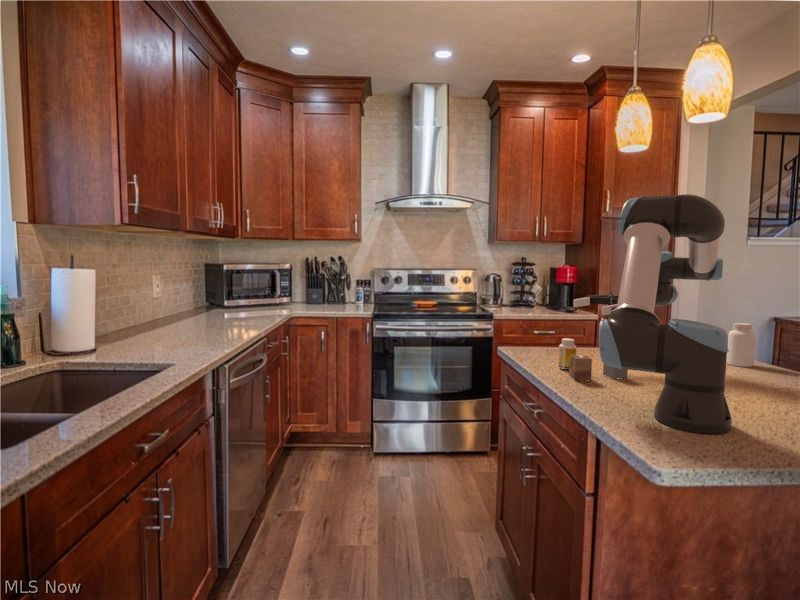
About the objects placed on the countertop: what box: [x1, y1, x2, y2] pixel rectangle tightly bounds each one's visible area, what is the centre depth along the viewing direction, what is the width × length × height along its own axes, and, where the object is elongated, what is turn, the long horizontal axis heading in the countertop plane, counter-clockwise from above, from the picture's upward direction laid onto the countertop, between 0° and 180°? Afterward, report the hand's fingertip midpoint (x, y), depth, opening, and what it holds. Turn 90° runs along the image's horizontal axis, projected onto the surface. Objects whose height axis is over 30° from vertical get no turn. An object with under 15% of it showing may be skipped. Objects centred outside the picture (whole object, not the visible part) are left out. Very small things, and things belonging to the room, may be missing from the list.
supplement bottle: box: [558, 337, 577, 370], centre depth 156 cm, size 6×6×10 cm
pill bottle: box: [726, 322, 757, 368], centre depth 165 cm, size 8×8×15 cm
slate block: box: [602, 363, 629, 380], centre depth 146 cm, size 5×5×7 cm
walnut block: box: [568, 354, 593, 381], centre depth 143 cm, size 5×5×7 cm
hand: (587, 307), depth 155 cm, fingers open, 13 cm apart
